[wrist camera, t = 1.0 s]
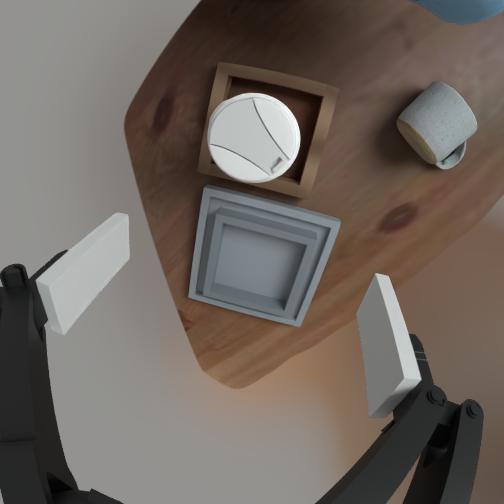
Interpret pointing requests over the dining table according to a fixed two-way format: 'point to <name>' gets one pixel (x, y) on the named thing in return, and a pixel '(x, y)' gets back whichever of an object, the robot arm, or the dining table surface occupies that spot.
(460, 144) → the ceramic mug
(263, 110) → the paper cup
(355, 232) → the dining table surface
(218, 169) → the walnut collar
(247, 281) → the grey tray
